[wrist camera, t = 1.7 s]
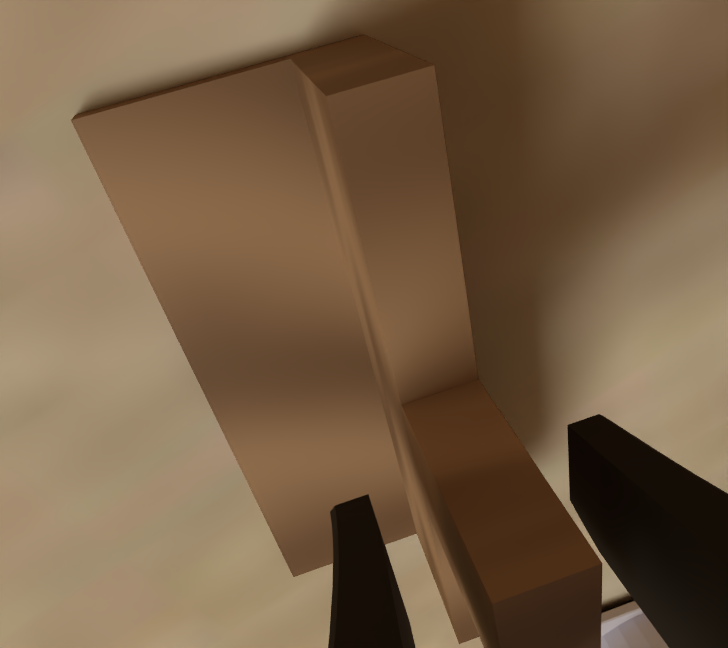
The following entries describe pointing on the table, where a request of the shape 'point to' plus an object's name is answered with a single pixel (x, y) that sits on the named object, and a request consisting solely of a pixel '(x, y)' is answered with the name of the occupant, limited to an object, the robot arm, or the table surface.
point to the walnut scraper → (343, 324)
